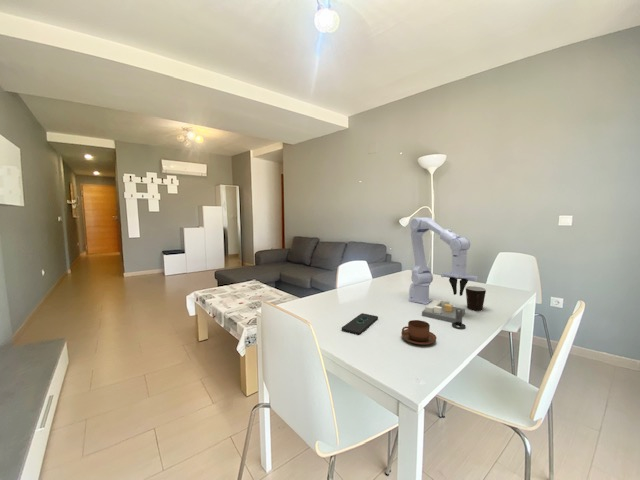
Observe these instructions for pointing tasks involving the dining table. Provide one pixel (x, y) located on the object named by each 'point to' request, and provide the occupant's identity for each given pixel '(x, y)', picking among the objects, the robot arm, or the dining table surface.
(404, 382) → the dining table surface
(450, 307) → the block
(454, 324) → the black door knob
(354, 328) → the smart home device
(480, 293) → the coffee mug
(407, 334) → the cup and saucer
